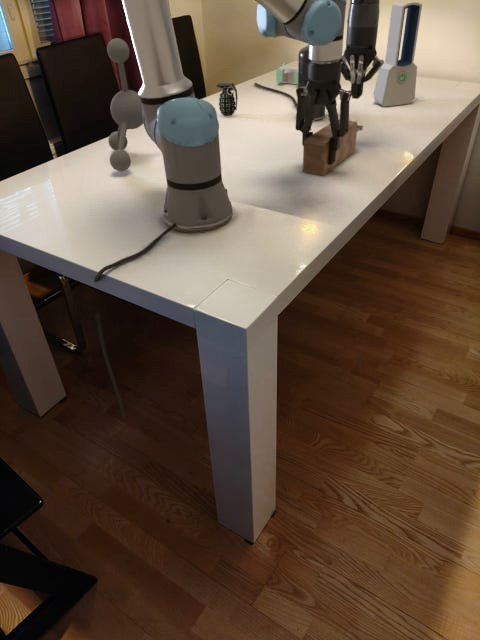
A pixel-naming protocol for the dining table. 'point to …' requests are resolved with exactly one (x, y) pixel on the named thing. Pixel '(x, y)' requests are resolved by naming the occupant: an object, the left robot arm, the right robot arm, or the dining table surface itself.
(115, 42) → the molecular model
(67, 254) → the dining table surface
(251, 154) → the dining table surface
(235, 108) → the grenade
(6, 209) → the dining table surface
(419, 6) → the electronic device
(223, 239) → the dining table surface
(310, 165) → the brown wooden brick
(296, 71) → the decorative block
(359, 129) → the purple elongated piece
